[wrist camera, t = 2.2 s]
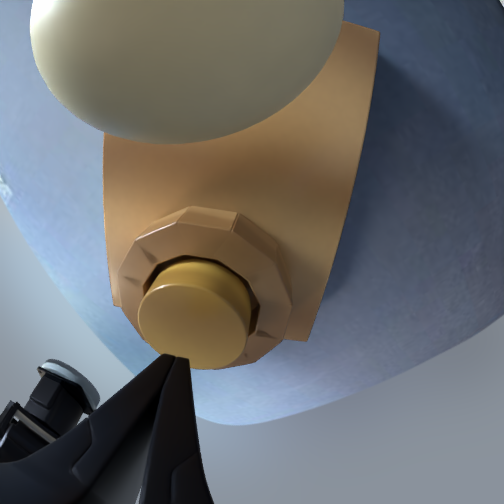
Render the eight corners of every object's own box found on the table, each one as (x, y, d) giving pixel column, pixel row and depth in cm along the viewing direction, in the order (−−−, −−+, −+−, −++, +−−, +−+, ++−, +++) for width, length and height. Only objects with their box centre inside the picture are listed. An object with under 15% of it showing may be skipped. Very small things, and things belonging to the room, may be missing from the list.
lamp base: (300, 327, 16) (304, 382, 12) (131, 297, 16) (101, 341, 12) (364, 43, 9) (399, 18, 6) (142, 22, 9) (97, -2, 6)
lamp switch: (244, 347, 12) (240, 378, 11) (156, 329, 12) (142, 357, 11) (259, 268, 10) (255, 296, 9) (151, 250, 10) (132, 274, 9)
